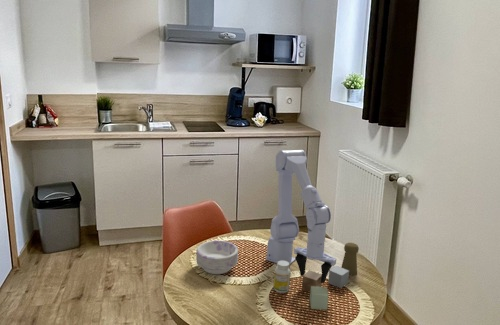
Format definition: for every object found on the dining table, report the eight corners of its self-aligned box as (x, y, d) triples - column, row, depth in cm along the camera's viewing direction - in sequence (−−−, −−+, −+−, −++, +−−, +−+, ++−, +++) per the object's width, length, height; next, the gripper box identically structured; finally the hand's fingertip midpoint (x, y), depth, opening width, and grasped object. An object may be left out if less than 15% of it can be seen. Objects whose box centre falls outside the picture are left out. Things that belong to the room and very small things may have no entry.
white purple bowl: (189, 274, 146) (189, 253, 145) (205, 256, 161) (205, 237, 159) (230, 282, 143) (230, 261, 141) (242, 262, 157) (243, 243, 155)
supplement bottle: (283, 295, 136) (285, 268, 134) (270, 289, 139) (271, 263, 137) (292, 289, 140) (294, 263, 138) (279, 283, 143) (281, 257, 141)
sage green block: (311, 308, 129) (312, 294, 128) (309, 300, 134) (310, 286, 133) (327, 310, 129) (328, 295, 128) (325, 301, 134) (326, 287, 133)
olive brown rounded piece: (357, 276, 151) (360, 248, 149) (340, 273, 152) (343, 246, 150) (356, 268, 157) (359, 241, 154) (340, 266, 158) (343, 239, 155)
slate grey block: (327, 283, 145) (329, 270, 144) (335, 278, 149) (336, 265, 148) (340, 288, 142) (341, 275, 141) (347, 283, 146) (349, 270, 145)
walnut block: (301, 289, 141) (302, 275, 139) (308, 283, 145) (309, 270, 143) (315, 293, 138) (316, 280, 137) (321, 287, 142) (322, 274, 141)
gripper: (291, 239, 138) (288, 276, 141) (331, 251, 130) (328, 290, 133) (300, 233, 144) (297, 268, 147) (340, 244, 136) (336, 281, 139)
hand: (312, 278), depth 140 cm, fingers open, 7 cm apart
